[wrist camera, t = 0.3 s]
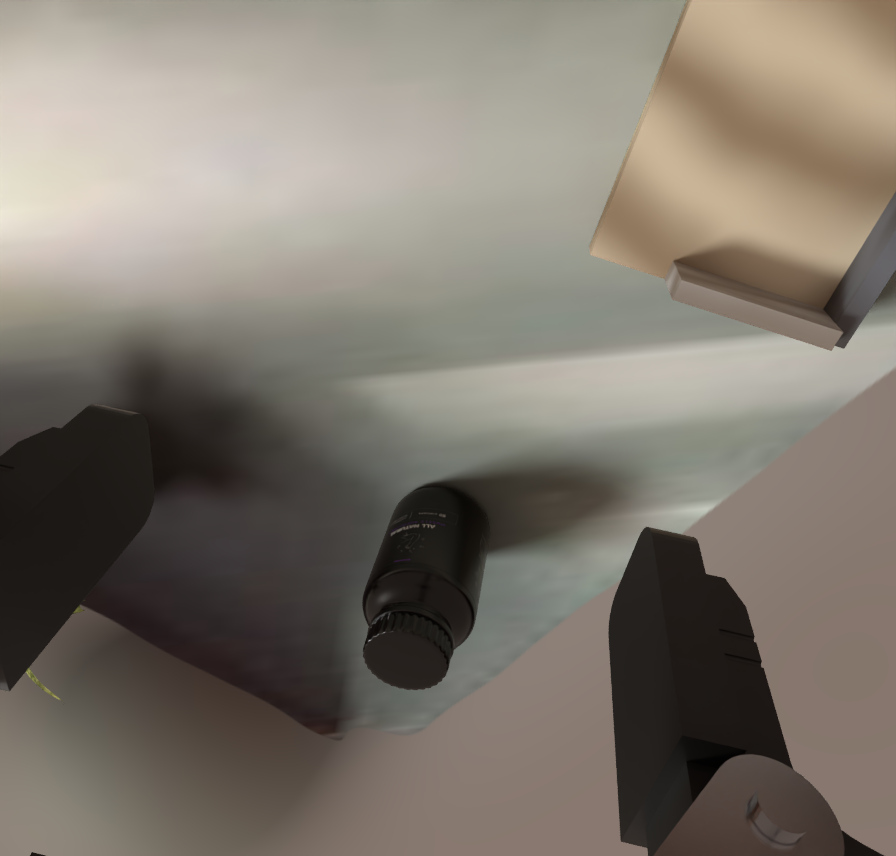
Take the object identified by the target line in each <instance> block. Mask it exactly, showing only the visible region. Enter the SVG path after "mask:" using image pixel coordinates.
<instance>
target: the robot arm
mask: <svg viewBox="0 0 896 856" xmlns="http://www.w3.org/2000/svg"><path fill="white" fill-rule="evenodd" d="M154 493H155V489H154V478H153V467H152V456H151V446H150V435H149V426H148V422H147V419H146V418H145V416H144V415H142V414H140V413H135V412H131V411H126V410H121V409H117V408H112V407H108V406H103V405H99V404H92V405H90V406H88V407H87V408H85V409H84V410H83V411H82V412H80V413H79V414H78V415H77V416H76V417H74V418H73V419H72V420H71V421H70V422H69V423H67V424H66V425H65V426H64V427H63V428H61V429H60V428H55V427H52V428H50V429H47V430H45V431H43V432H40V433H38V434H36V435H34V436H31V437H29V438H27V439H24V440H22V441H20V442H18V443H16V444H15V445H14V446H13V447H11V448H10V449H9V450H8V451H6V452H5V453H4V454H3V455H1V456H0V689H1V690H5V691H10V690H11V689H12V688H13V686H14V685H15V684H16V683H17V681H18V680H19V679H20V678H21V677H22V675H23V674H24V673H25V672H26V670H27V669H28V668H29V667H30V665H31V664H32V663H33V662H34V661H35V659H36V658H37V657H38V655H39V654H40V653H41V652H42V651H43V649H44V648H45V647H46V646H47V645H48V643H49V642H50V641H51V639H52V638H53V637H54V636H55V635H56V633H57V632H58V631H59V630H60V628H61V627H62V626H63V625H64V624H65V622H66V621H67V620H68V619H69V617H70V616H71V615H72V614H73V613H74V611H75V610H76V609H77V608H78V606H79V605H80V604H81V603H82V601H83V600H84V599H85V598H86V597H87V595H88V594H89V593H90V592H91V590H92V589H93V588H94V587H95V585H96V584H97V583H98V582H99V580H100V579H101V578H102V577H103V576H104V574H105V573H106V572H107V571H108V569H109V568H110V567H111V566H112V564H113V563H114V562H115V561H116V560H117V558H118V557H119V556H120V555H121V553H122V552H123V551H124V550H125V548H126V547H127V546H128V545H129V544H130V542H131V541H132V540H133V539H134V537H135V536H136V535H137V534H138V532H139V531H140V530H141V529H142V527H143V526H144V524H145V523H146V521H147V519H148V517H149V515H150V512H151V509H152V506H153V501H154ZM609 650H610V666H611V684H612V701H613V718H614V734H615V751H616V768H617V784H618V801H619V819H620V836H621V842H626V843H629V844H634V845H638V846H642V847H646V848H648V856H884V855H882V854H880V853H878V852H876V851H874V850H873V849H871V848H869V847H867V846H865V845H863V844H862V843H860V842H858V841H857V840H855V839H853V838H852V837H850V836H849V835H847V834H846V833H845V832H843V831H842V830H841V828H840V825H839V823H838V820H837V818H836V816H835V814H834V812H833V811H832V809H831V807H830V806H829V804H828V803H827V801H826V800H825V799H824V798H823V796H822V795H821V794H820V793H819V792H818V790H816V788H814V786H813V785H812V784H811V783H810V782H809V781H807V780H806V779H805V778H804V777H803V776H802V775H800V774H799V773H797V772H796V771H794V770H793V767H792V765H791V762H790V758H789V755H788V751H787V748H786V745H785V741H784V737H783V734H782V730H781V727H780V723H779V720H778V717H777V713H776V710H775V707H774V703H773V699H772V696H771V692H770V689H769V686H768V682H767V679H766V675H765V671H764V668H761V662H762V661H761V658H760V654H759V650H758V647H757V644H756V643H755V642H754V633H753V630H752V626H751V623H750V620H749V616H748V613H747V609H746V606H745V605H744V604H743V602H742V601H741V600H740V598H739V597H738V596H737V594H736V593H735V591H734V590H733V589H732V587H731V586H730V585H729V583H728V582H727V581H726V579H725V578H721V577H717V576H712V575H708V574H706V573H705V569H704V564H703V560H702V556H701V552H700V548H699V544H698V541H697V539H696V538H694V537H690V536H686V535H681V534H677V533H672V532H668V531H663V530H659V529H654V528H650V527H646V528H644V529H643V531H642V532H641V534H640V536H639V538H638V541H637V543H636V546H635V548H634V550H633V553H632V555H631V558H630V560H629V563H628V565H627V567H626V570H625V572H624V575H623V577H622V580H621V582H620V584H619V587H618V589H617V592H616V594H615V597H614V601H613V604H612V608H611V613H610V620H609ZM30 856H45V855H41V854H37V853H33V852H32V853H31V855H30Z"/></svg>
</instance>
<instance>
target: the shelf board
mask: <svg viewBox="0 0 896 856" xmlns="http://www.w3.org/2000/svg"><path fill="white" fill-rule="evenodd" d="M589 247H590V255H593V256H596V257H599V258H602V259H605V260H608V261H611V262H614V263H617V264H620V265H624V266H627V267H630V268H633V269H636V270H639V271H642V272H645V273H648V274H651V275H654V276H658V277H661V278H664V279H665V281H666V284H667V287H668V289H669V292H670V295H671V297H672V299H673V300H676V301H679V302H682V303H685V304H688V305H691V306H694V307H697V308H700V309H704V310H707V311H710V312H713V313H716V314H719V315H722V316H725V317H728V318H731V319H735V320H738V321H741V322H744V323H747V324H750V325H753V326H756V327H759V328H762V329H765V330H769V331H772V332H775V333H778V334H781V335H784V336H787V337H790V338H793V339H796V340H800V341H803V342H806V343H809V344H812V345H815V346H818V347H821V348H824V349H827V350H831V351H832V349H833V348H834V346H838V347H841V348H845V346H846V345H847V343H848V342H849V340H850V339H851V337H852V336H853V334H854V333H855V331H856V330H857V328H858V327H859V325H860V324H861V322H862V320H863V319H864V317H865V316H866V314H867V313H868V311H869V310H870V308H871V307H872V305H873V304H874V302H875V301H876V299H877V298H878V296H879V295H880V293H881V292H882V290H883V288H884V287H885V285H886V284H887V282H888V281H889V279H890V278H891V276H892V275H893V273H894V272H895V270H896V0H687V1H686V4H685V6H684V9H683V11H682V14H681V16H680V19H679V21H678V24H677V26H676V29H675V31H674V34H673V37H672V39H671V42H670V44H669V47H668V49H667V52H666V54H665V57H664V59H663V62H662V64H661V67H660V69H659V72H658V74H657V77H656V79H655V82H654V85H653V87H652V90H651V92H650V95H649V97H648V100H647V102H646V105H645V107H644V110H643V112H642V115H641V117H640V120H639V122H638V125H637V127H636V130H635V133H634V135H633V138H632V140H631V143H630V145H629V148H628V150H627V153H626V155H625V158H624V160H623V163H622V165H621V168H620V170H619V173H618V175H617V178H616V181H615V183H614V186H613V188H612V191H611V193H610V196H609V198H608V201H607V203H606V206H605V208H604V211H603V213H602V216H601V218H600V221H599V224H598V226H597V229H596V231H595V234H594V236H593V239H592V241H591V244H590V246H589Z"/></svg>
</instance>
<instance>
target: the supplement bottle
mask: <svg viewBox="0 0 896 856" xmlns="http://www.w3.org/2000/svg"><path fill="white" fill-rule="evenodd" d="M489 535H490V529H489V523H488V520H487V518H486V515H485V514H484V512H483V510H482V509H481V508H480V506H479V505H478V504H477V503H476V502H475V501H474V500H472V499H471V498H470V497H468V496H467V495H465V494H463V493H461V492H459V491H456V490H453V489H450V488H445V487H427V488H422V489H419V490H416V491H414V492H412V493H410V494H408V495H407V496H405V497H404V498H403V499H402V500H401V501H400V502H399V504H398V505H397V507H396V509H395V510H394V513H393V515H392V518H391V520H390V523H389V525H388V528H387V531H386V534H385V536H384V539H383V542H382V544H381V547H380V550H379V553H378V555H377V558H376V561H375V563H374V566H373V569H372V571H371V574H370V577H369V580H368V582H367V585H366V588H365V591H364V595H363V603H362V604H363V612H364V616H365V619H366V621H367V624H368V625H369V628H368V635H367V638H366V641H365V645H364V648H363V652H364V654H363V657H364V659H365V663H366V664H367V667H368V669H370V670H371V672H372V674H374V675H376V677H377V678H378V679H381V680H382V681H383V682H385V683H388V684H390V685H391V686H396V687H398V688H404V689H407V690H410V689H412V690H418V689H425V688H431V687H432V686H435V685H437V684H438V682H441V681H442V679H443V678H444V677H445V676H446V673H447V671H448V668H449V663H450V659H451V657H452V655H453V651H454V649H456V648H457V647H458V646H460V645H461V644H462V643H463V642H464V641H465V640H466V639H467V638H468V636H469V635H470V634H471V632H472V630H473V627H474V624H475V620H476V615H477V609H478V603H479V597H480V591H481V585H482V580H483V574H484V568H485V562H486V556H487V550H488V543H489Z"/></svg>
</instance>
